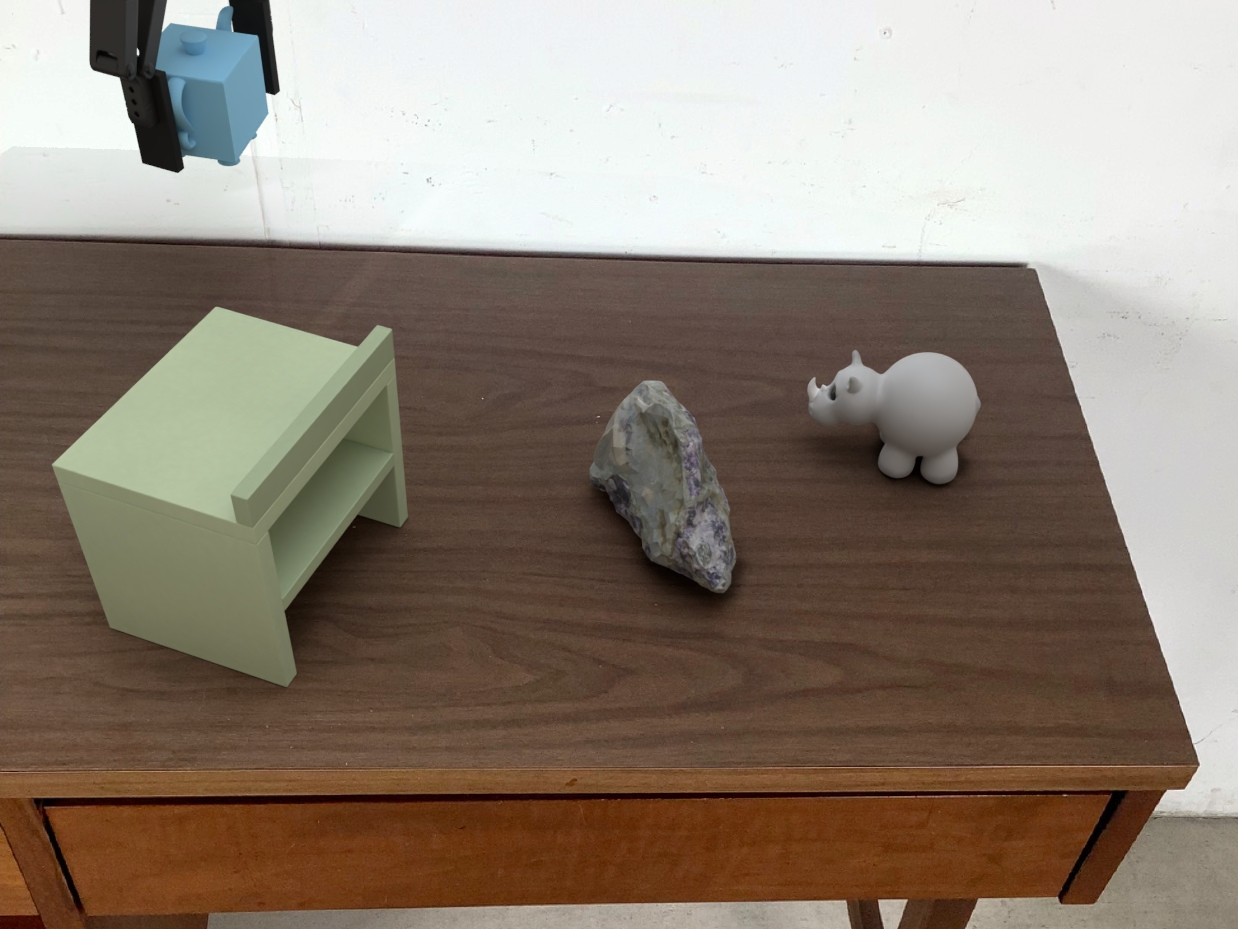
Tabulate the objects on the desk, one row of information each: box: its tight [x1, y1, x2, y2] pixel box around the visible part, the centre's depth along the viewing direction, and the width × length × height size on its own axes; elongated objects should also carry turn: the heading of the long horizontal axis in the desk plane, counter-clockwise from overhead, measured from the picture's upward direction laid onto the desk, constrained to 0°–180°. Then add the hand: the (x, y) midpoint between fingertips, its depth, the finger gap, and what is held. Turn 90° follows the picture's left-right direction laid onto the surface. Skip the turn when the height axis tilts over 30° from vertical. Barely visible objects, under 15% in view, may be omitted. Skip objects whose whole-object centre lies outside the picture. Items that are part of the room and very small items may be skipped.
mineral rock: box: [589, 380, 737, 594], centre depth 82 cm, size 13×11×10 cm
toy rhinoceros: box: [806, 349, 982, 485], centre depth 90 cm, size 7×12×8 cm, turn 80°
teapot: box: [156, 5, 269, 167], centre depth 87 cm, size 12×6×8 cm, turn 173°
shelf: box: [51, 306, 409, 688], centre depth 76 cm, size 12×16×15 cm
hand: (214, 126), depth 89 cm, fingers closed on teapot, 12 cm apart
